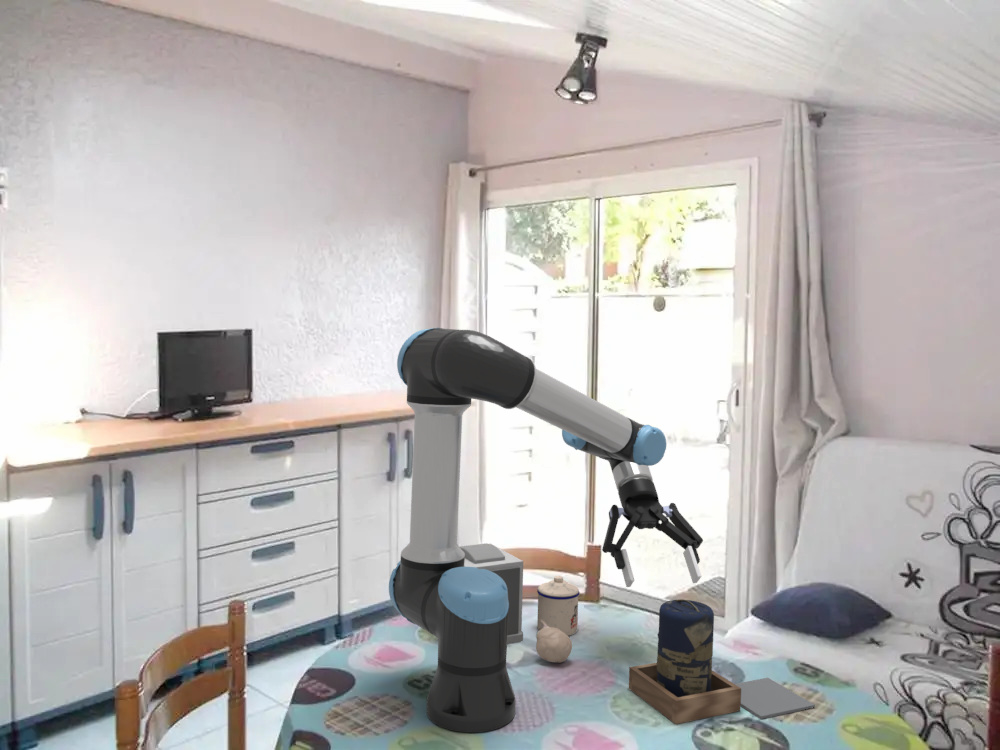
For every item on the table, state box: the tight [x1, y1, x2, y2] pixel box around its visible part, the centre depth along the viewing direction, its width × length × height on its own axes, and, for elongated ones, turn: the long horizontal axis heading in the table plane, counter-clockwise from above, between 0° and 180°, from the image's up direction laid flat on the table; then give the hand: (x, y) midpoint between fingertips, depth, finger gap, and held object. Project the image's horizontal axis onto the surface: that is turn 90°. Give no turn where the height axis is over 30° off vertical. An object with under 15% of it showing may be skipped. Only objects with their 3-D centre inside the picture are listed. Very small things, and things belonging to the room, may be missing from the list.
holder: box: [628, 662, 741, 725], centre depth 150 cm, size 14×14×4 cm
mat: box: [734, 677, 816, 720], centre depth 152 cm, size 12×12×1 cm
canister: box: [656, 598, 715, 697], centre depth 150 cm, size 10×10×18 cm
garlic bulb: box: [535, 620, 573, 664], centre depth 166 cm, size 7×6×8 cm
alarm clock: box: [459, 542, 524, 645], centre depth 180 cm, size 18×13×18 cm
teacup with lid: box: [536, 575, 581, 637], centre depth 184 cm, size 12×9×12 cm
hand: (664, 581), depth 159 cm, fingers open, 13 cm apart
